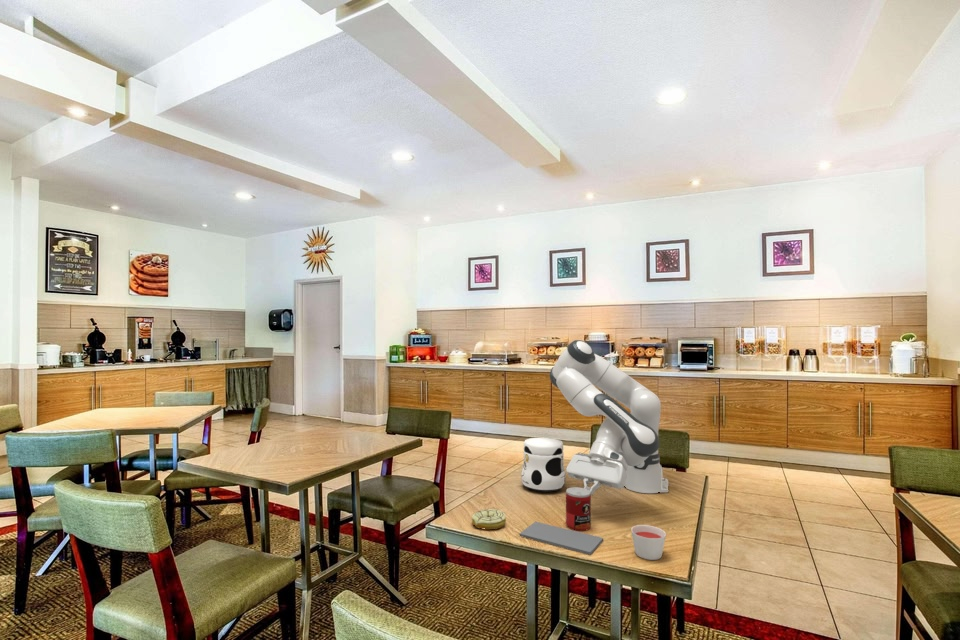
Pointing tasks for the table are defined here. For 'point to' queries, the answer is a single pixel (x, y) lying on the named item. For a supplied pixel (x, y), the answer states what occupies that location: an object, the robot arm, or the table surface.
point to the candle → (648, 541)
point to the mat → (562, 537)
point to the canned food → (578, 508)
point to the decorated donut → (489, 519)
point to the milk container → (543, 464)
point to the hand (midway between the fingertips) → (587, 493)
